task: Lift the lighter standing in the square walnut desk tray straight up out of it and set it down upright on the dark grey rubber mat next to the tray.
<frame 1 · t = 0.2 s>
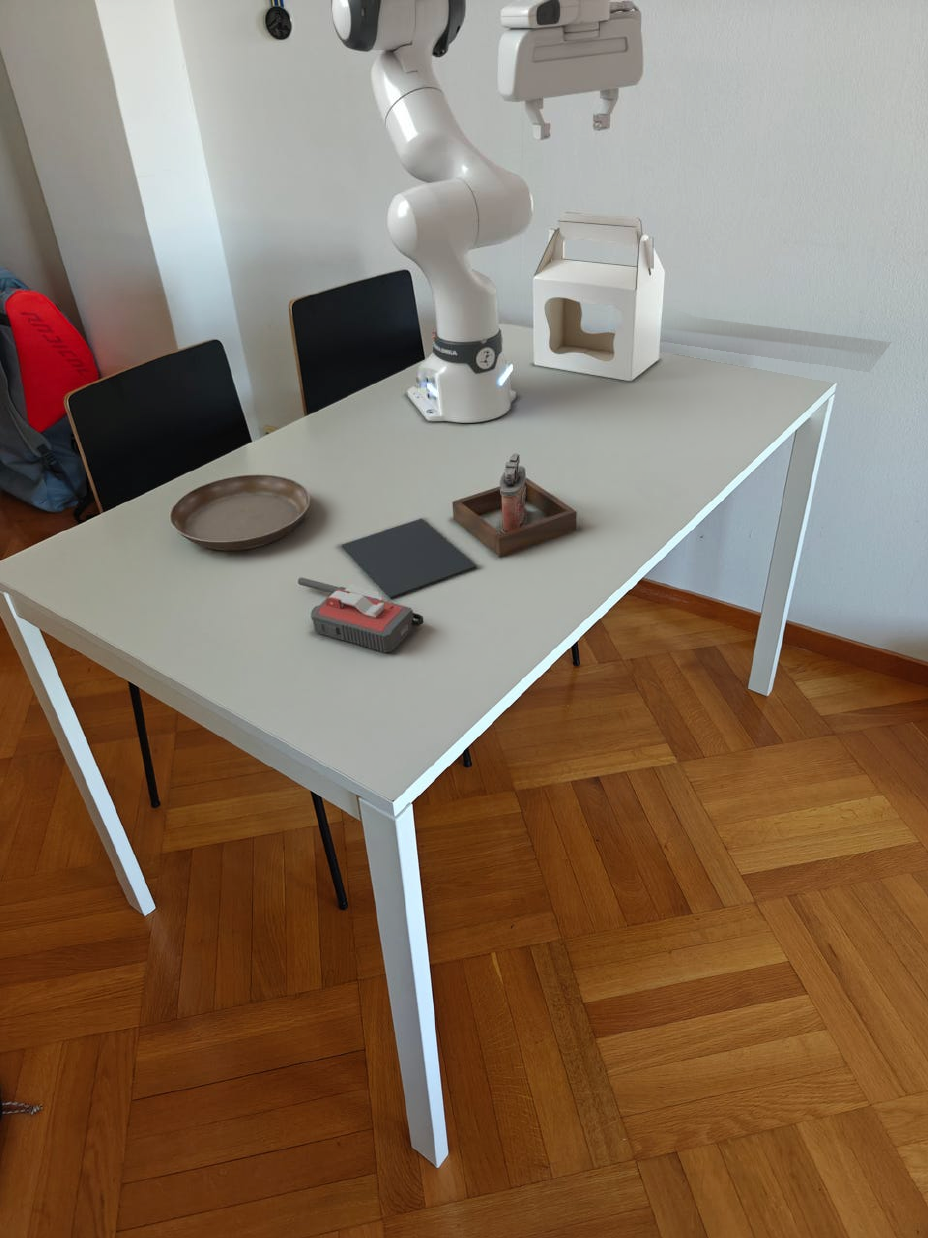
hand: (571, 134, 115), 48 cm above the table, tool pointing down, fingers open, 8 cm apart
plant saucer: (244, 525, 134), on the table
lighter: (514, 525, 129), resting in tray
mat: (407, 557, 124), on the table
gable box: (595, 363, 181), on the table
walkie-talkie: (348, 620, 112), on the table
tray: (514, 524, 129), on the table
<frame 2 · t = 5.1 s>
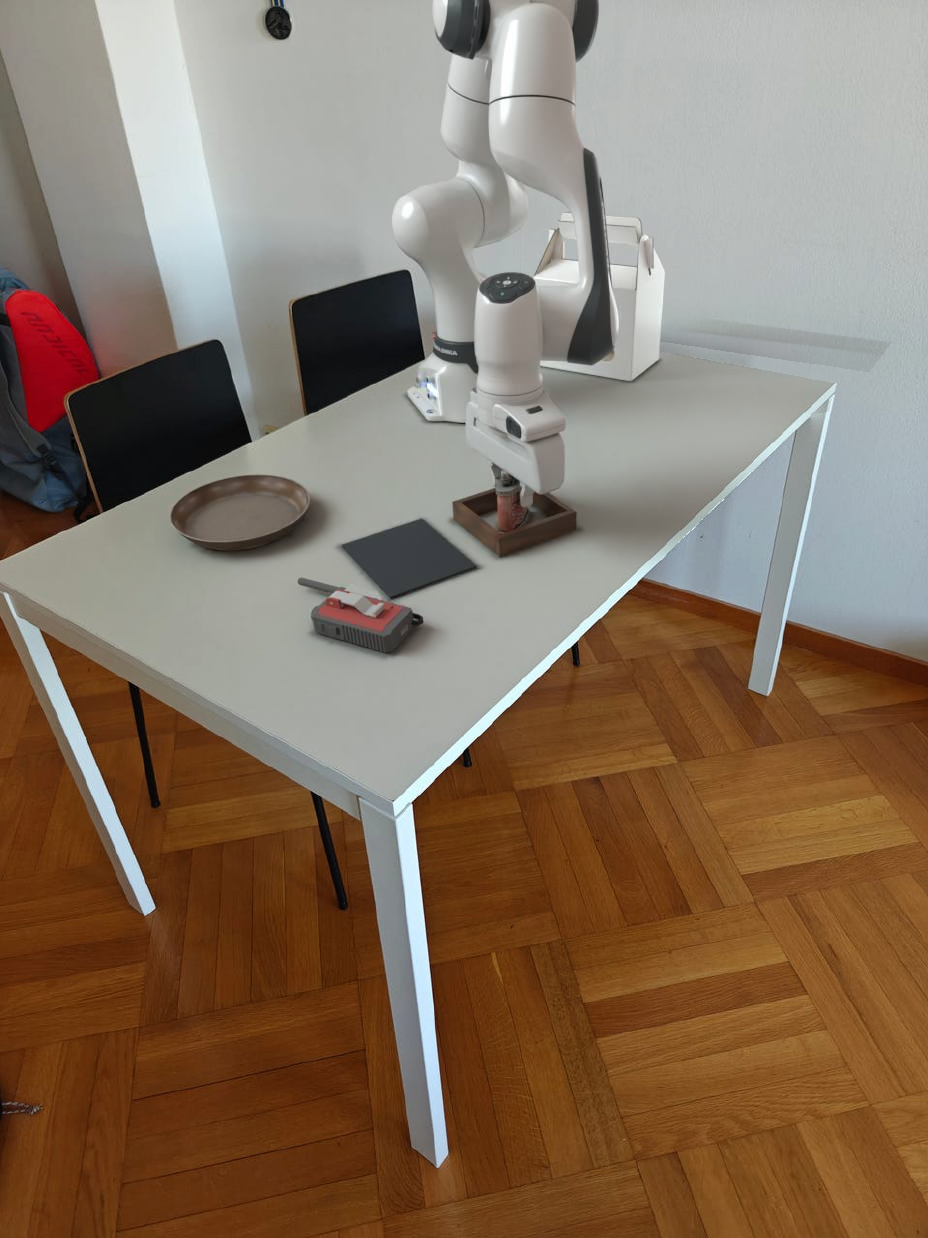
hand: (513, 496, 126), 5 cm above the table, tool pointing down, fingers closed on lighter, 5 cm apart
lighter: (513, 525, 129), resting in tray, touching gripper
everything else where it was.
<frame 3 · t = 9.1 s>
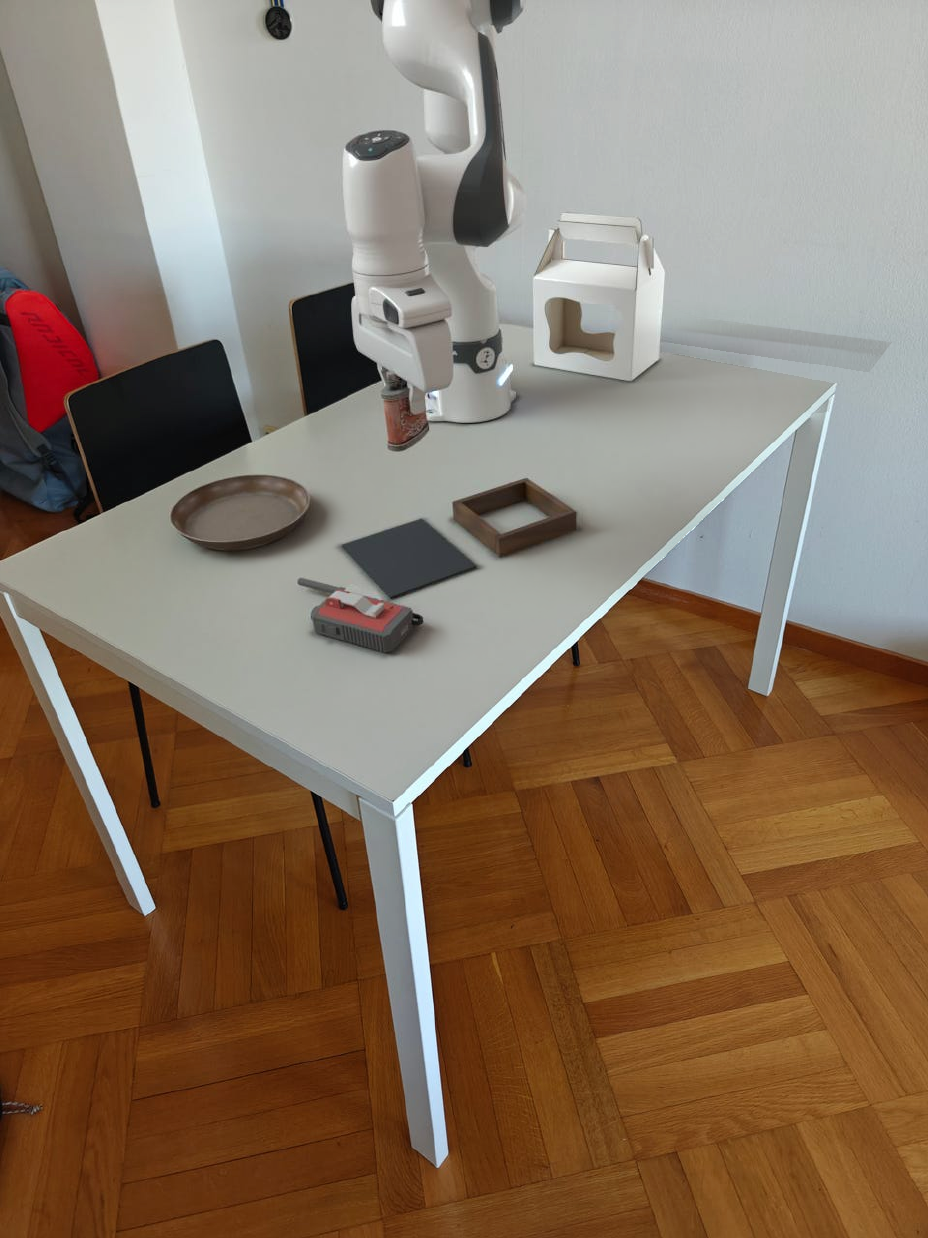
hand: (405, 404, 111), 22 cm above the table, tool pointing down, fingers closed on lighter, 5 cm apart
lighter: (409, 440, 114), point 17 cm above the table, touching gripper
everything else where it was.
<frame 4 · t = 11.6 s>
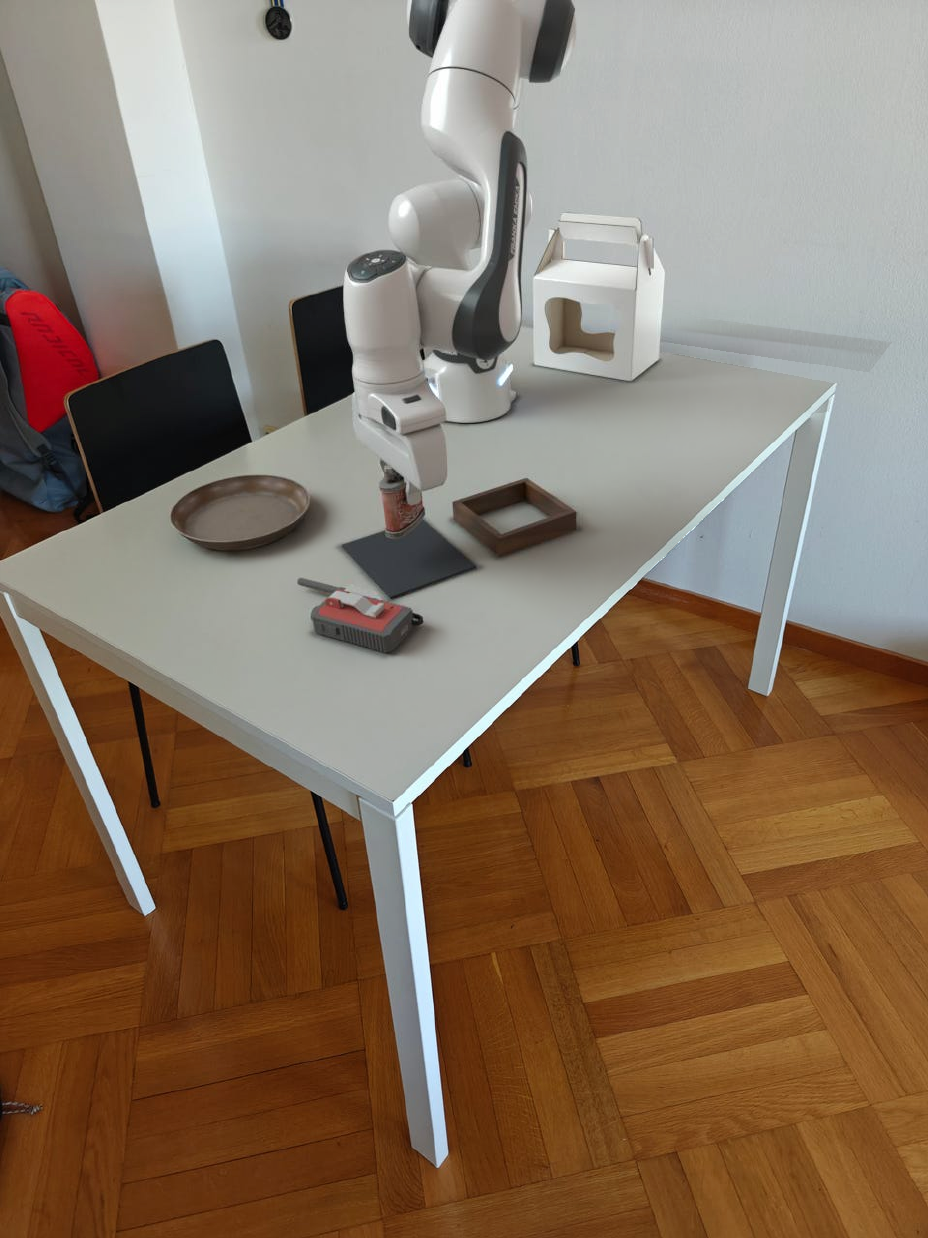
hand: (402, 493, 118), 10 cm above the table, tool pointing down, fingers closed on lighter, 5 cm apart
lighter: (405, 525, 120), point 5 cm above the table, touching gripper
everything else where it was.
when the fingers open (5 cm above the table, at t = 13.3 s): lighter stays where it is, resting on mat.
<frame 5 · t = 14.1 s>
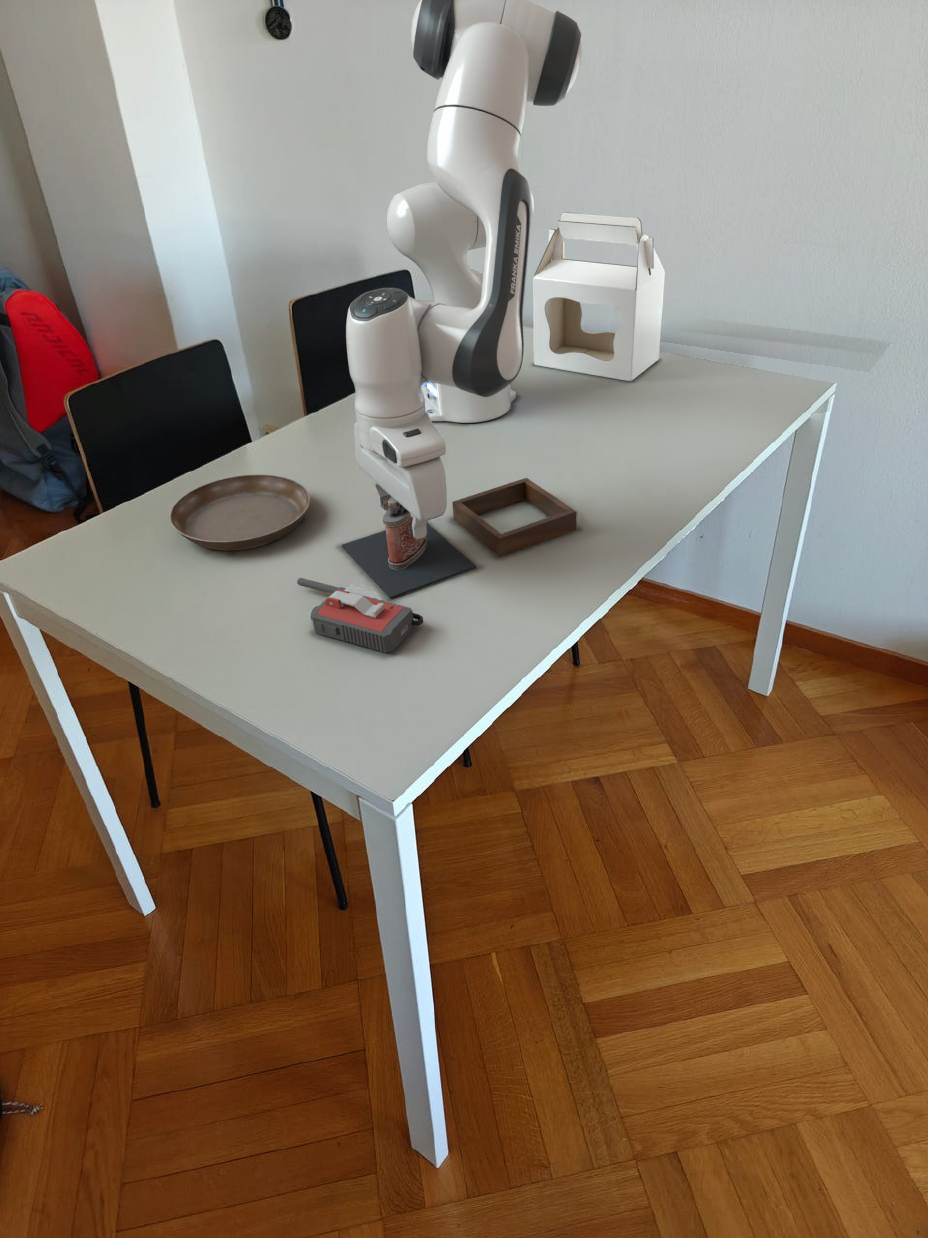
hand: (402, 521, 120), 6 cm above the table, tool pointing down, fingers open, 8 cm apart
lighter: (408, 555, 123), resting on mat
everything else where it was.
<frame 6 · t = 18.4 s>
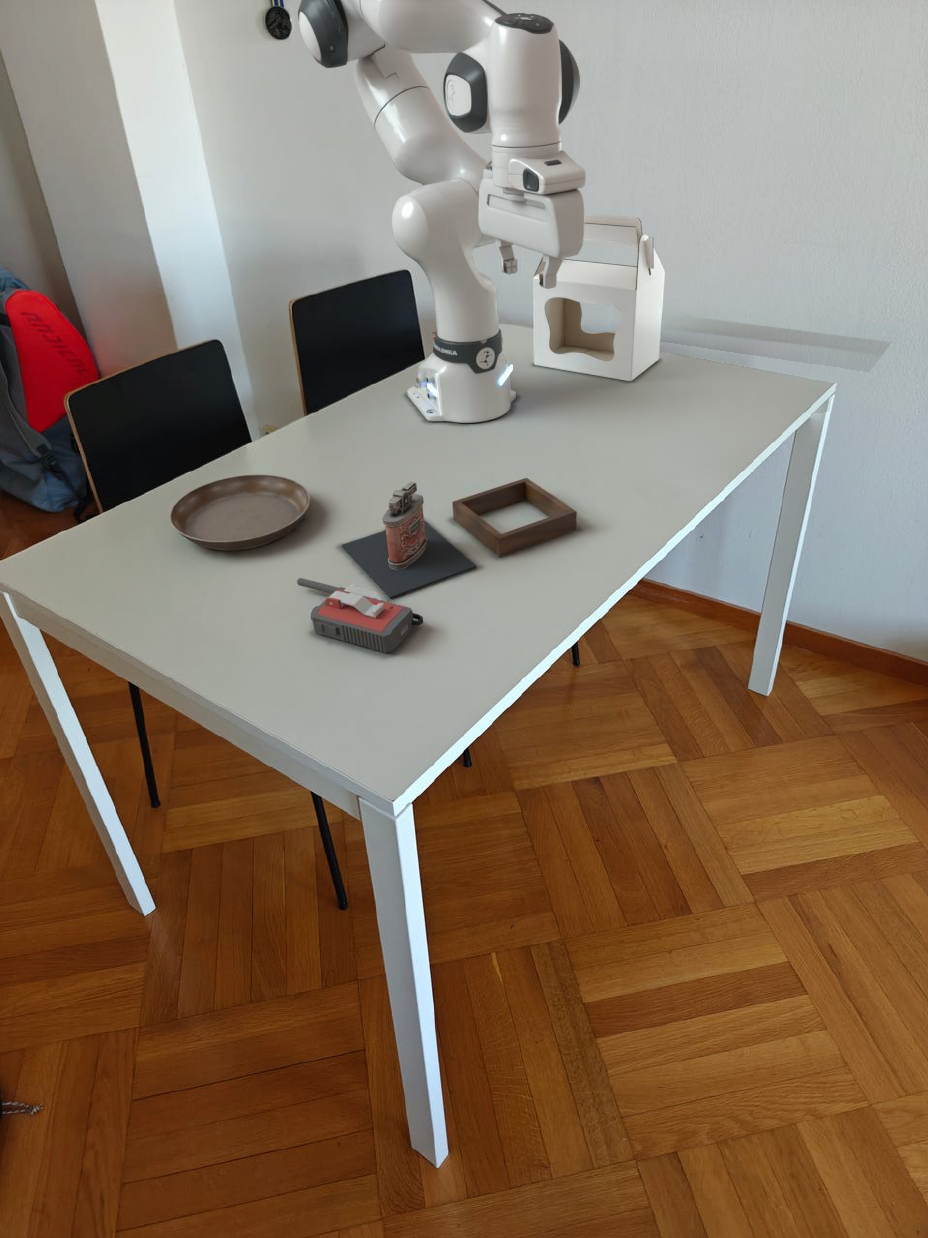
hand: (528, 279, 121), 31 cm above the table, tool pointing down, fingers open, 8 cm apart
nothing on the table moved.
at the end: lighter inside the target area on the mat (0.2 cm from its centre), point 0.2 cm above the mat's base; lighter tilted 0°; lighter touching mat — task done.
